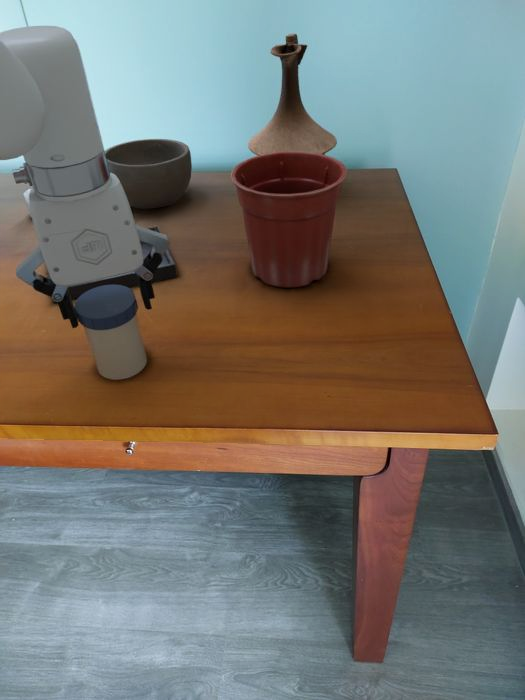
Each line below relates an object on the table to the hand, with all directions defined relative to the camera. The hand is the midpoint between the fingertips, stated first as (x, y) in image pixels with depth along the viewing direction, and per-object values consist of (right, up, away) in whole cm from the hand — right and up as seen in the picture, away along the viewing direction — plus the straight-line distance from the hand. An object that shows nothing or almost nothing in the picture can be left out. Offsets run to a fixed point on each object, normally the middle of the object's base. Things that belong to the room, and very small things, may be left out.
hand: (111, 311), depth 64 cm
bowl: (-4, +26, +44) cm, 51 cm away
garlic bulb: (-24, +22, +40) cm, 52 cm away
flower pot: (+23, +8, +22) cm, 32 cm away
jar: (0, -6, +5) cm, 8 cm away
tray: (-7, +9, +24) cm, 26 cm away
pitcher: (+25, +27, +44) cm, 57 cm away
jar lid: (0, +1, -1) cm, 2 cm away
